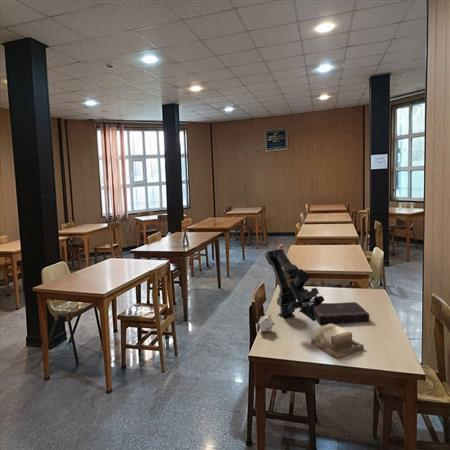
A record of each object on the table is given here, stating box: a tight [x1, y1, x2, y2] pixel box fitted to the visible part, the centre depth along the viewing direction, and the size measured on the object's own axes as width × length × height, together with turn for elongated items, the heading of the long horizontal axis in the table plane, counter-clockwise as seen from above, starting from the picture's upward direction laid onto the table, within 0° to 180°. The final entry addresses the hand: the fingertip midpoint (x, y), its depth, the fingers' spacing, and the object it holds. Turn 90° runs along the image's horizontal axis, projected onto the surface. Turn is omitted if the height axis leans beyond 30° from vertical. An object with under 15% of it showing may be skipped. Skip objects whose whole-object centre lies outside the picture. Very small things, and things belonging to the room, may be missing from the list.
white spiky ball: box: [257, 314, 276, 334], centre depth 176 cm, size 9×8×10 cm
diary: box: [314, 301, 370, 326], centre depth 191 cm, size 19×25×5 cm
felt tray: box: [310, 339, 365, 360], centre depth 159 cm, size 15×15×2 cm
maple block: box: [314, 323, 353, 352], centre depth 161 cm, size 6×10×12 cm
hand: (314, 320), depth 171 cm, fingers closed
